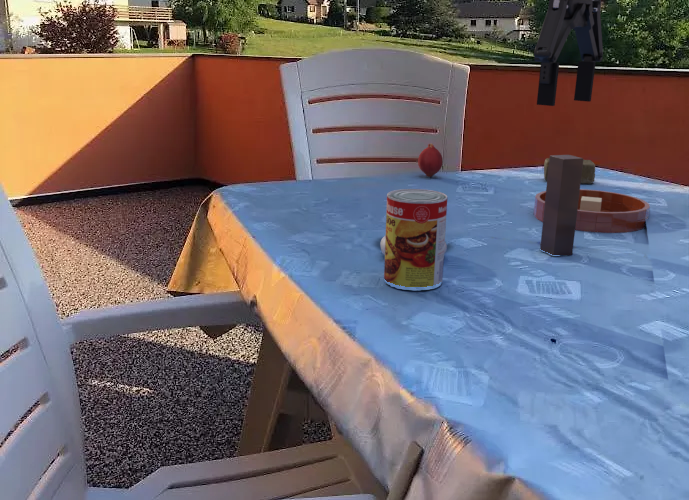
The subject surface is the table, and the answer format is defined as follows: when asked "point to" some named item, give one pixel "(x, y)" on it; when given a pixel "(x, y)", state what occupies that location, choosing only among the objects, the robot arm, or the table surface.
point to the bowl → (605, 212)
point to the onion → (430, 160)
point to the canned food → (415, 237)
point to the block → (590, 204)
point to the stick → (561, 204)
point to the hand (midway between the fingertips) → (564, 103)
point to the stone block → (587, 171)
